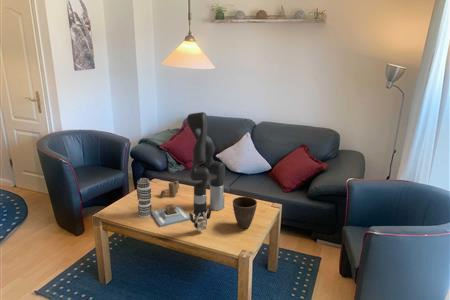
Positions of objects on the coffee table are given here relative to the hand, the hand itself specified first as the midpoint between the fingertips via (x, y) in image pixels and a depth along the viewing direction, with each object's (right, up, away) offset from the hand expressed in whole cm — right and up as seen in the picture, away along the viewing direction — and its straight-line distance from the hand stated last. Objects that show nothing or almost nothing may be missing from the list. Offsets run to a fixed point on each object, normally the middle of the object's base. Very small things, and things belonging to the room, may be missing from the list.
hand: (200, 226), depth 197 cm
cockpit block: (0, -1, 0) cm, 1 cm away
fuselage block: (-21, +3, +18) cm, 28 cm away
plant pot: (+26, -2, +10) cm, 28 cm away
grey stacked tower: (-38, +3, +21) cm, 44 cm away
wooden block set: (-25, +12, +51) cm, 58 cm away
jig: (-21, +2, +19) cm, 28 cm away
